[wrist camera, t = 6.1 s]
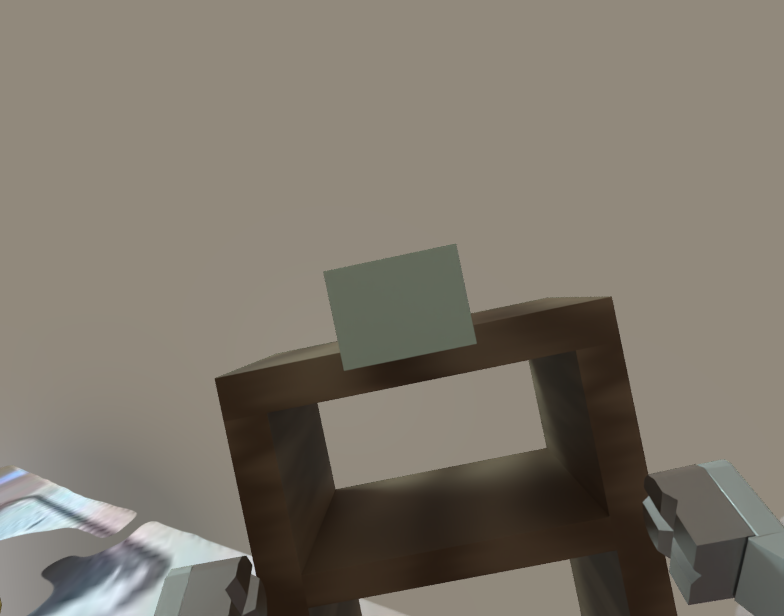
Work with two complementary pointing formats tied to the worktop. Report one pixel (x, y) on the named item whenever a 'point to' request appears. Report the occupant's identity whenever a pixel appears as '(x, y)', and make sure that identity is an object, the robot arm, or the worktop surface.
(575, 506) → the walnut shelf
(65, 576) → the worktop surface
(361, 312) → the pale green bar
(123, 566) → the worktop surface
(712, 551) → the robot arm
